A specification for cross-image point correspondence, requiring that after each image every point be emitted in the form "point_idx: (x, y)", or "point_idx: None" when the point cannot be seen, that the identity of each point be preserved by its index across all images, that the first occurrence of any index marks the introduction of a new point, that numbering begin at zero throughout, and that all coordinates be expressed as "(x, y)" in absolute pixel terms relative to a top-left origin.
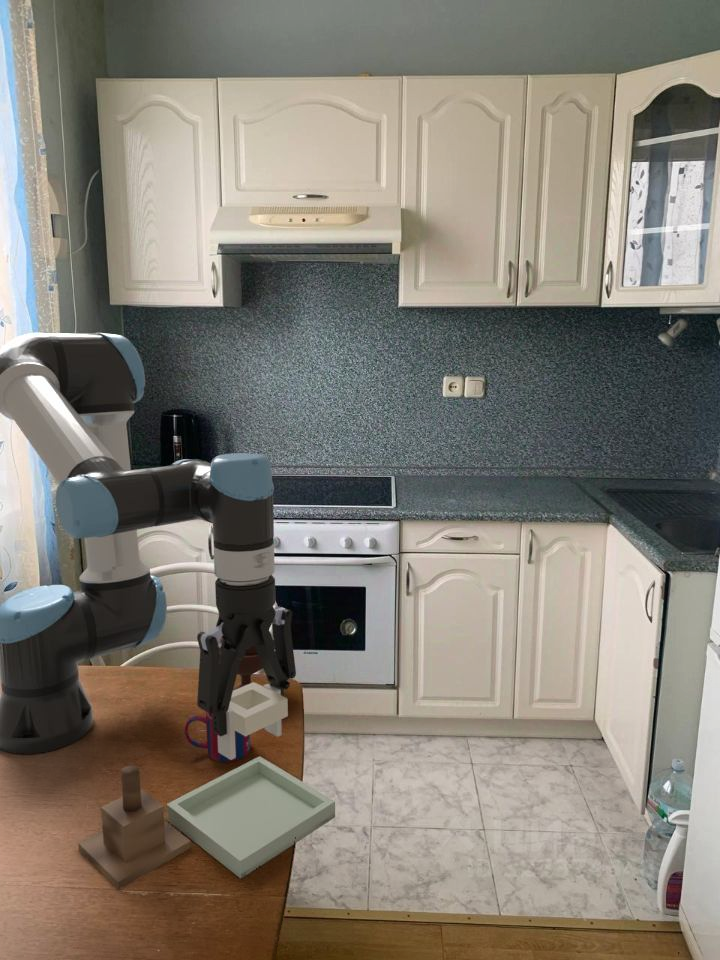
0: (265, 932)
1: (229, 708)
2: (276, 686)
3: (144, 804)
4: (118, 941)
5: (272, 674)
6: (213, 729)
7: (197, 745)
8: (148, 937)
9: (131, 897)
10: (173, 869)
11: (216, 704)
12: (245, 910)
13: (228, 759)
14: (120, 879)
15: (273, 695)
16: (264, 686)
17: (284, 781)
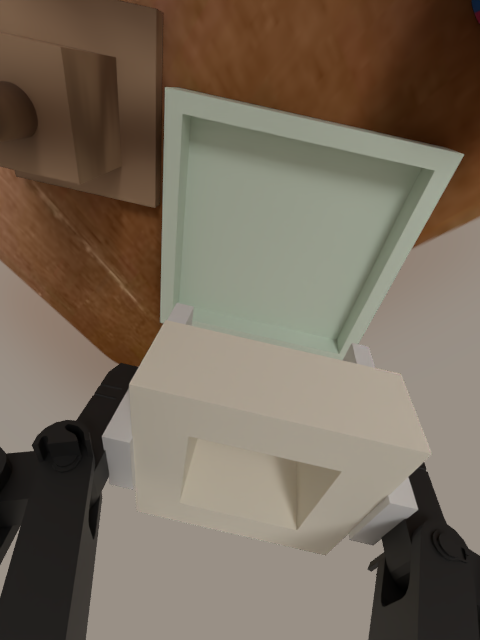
0: (137, 363)
1: (129, 476)
2: (383, 546)
3: (44, 134)
4: (2, 248)
5: (380, 632)
6: (107, 377)
7: None
8: (35, 273)
9: (38, 204)
10: (113, 215)
11: (15, 530)
12: (141, 335)
13: (478, 13)
14: (20, 174)
15: (326, 529)
16: (384, 505)
17: (383, 260)
